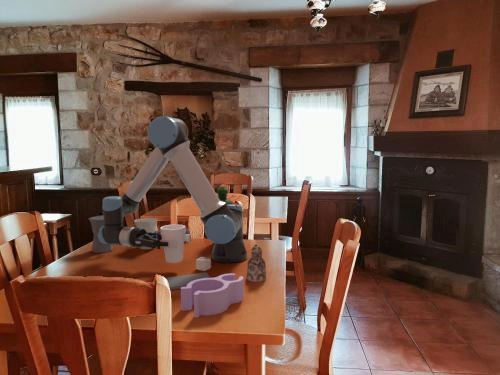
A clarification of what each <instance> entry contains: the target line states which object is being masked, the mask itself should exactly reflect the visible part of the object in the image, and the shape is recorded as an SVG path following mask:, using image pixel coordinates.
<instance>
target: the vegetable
mask: <svg viewBox="0 0 500 375" xmlns="http://www.w3.org/2000/svg"><path fill="white" fill-rule="evenodd" d="M181 225H184V226H185V221H183V222H182V223H181ZM185 234H190V235H191V231H190V229H188V228H187V227H186V233H185Z"/></svg>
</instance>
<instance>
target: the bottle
mask: <svg viewBox="0 0 500 375" xmlns="http://www.w3.org/2000/svg"><path fill="white" fill-rule="evenodd" d="M216 194H217V196H218V198H219V200H220V201H222V202H226V204H227V205H234V204H233V202H232V200H230V199H228V198H227V197H228V194H229V191H228V188H226V185H219V188H217V191H216Z"/></svg>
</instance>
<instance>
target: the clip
mask: <svg viewBox="0 0 500 375" xmlns="http://www.w3.org/2000/svg"><path fill="white" fill-rule="evenodd" d="M244 279H245V278H244V276H242V275H241V276H238V278H237V279H236V273H224V274H220V275H218V276H216V277H211V278H202V279H197V280H194V281H191V282H189V283H188V284H187V286H186V287H181V289H180V304H181V305H180V308H181V311H182V312H183V311H191V310H193V314H194V315H193V316H194V318H195V319H197V318H199V317H201V316H213V315H215V316H216V315H219V314H222V313H223V312H225V311H227V310H228V309H229V307H230V306H231V305H234V304H238V303H241V302H243V300H244V298H245V297H244V293H245V292H244V291H245V290H244V288H245V287H244V282H245V281H244Z"/></svg>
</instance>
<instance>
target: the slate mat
mask: <svg viewBox="0 0 500 375" xmlns="http://www.w3.org/2000/svg"><path fill="white" fill-rule="evenodd" d="M165 278H166V279H167V280H168V282H169V286H170V290H169V291H172V290H173V291H174V290H181V287H186V286H187V284H188V283H189V282H191V281H194V280H197V279H202V278H212V277H211V276H210V275H209V274H208V272H200V273H199V272H198V273H194V274H193V273H192V274H183V275H176V276H168V277H165Z"/></svg>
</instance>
